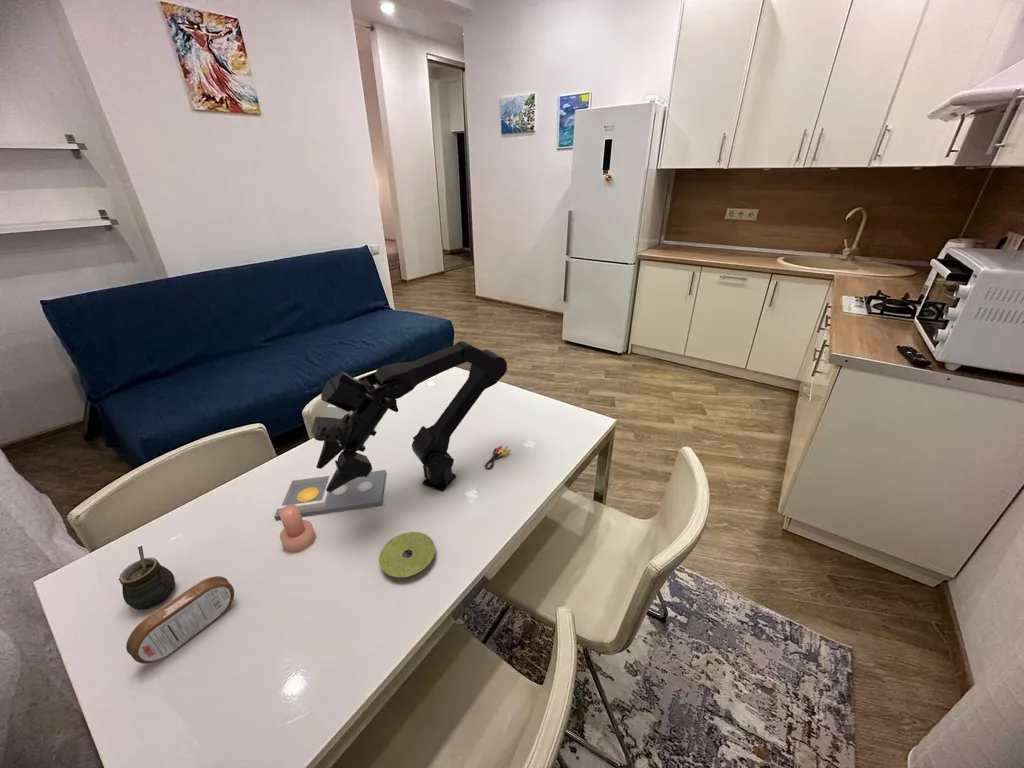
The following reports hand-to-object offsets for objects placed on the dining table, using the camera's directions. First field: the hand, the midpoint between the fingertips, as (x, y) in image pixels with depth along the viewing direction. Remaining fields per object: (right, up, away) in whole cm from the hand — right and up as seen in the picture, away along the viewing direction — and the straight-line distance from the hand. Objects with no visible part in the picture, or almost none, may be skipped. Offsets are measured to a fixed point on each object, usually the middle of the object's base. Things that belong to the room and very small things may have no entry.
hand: (323, 479), depth 87 cm
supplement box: (-8, +4, +38) cm, 39 cm away
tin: (-16, -24, -15) cm, 32 cm away
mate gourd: (-28, -21, -9) cm, 36 cm away
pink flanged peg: (-6, -14, +2) cm, 16 cm away
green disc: (+19, -16, -3) cm, 25 cm away
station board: (-4, -8, +15) cm, 17 cm away
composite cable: (+36, -1, +27) cm, 45 cm away
